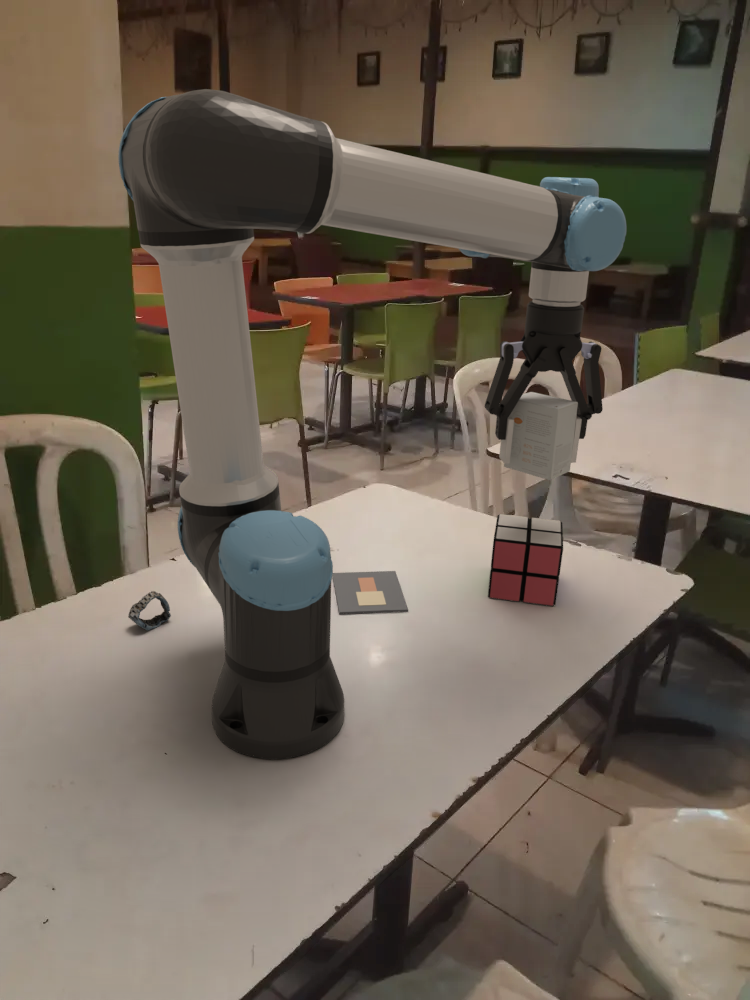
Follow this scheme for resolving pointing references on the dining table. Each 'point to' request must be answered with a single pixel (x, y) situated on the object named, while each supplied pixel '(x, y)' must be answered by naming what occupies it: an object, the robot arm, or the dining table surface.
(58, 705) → the dining table surface
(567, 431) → the small box
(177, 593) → the dining table surface
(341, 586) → the card
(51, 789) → the dining table surface
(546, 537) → the puzzle cube
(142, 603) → the wristwatch
